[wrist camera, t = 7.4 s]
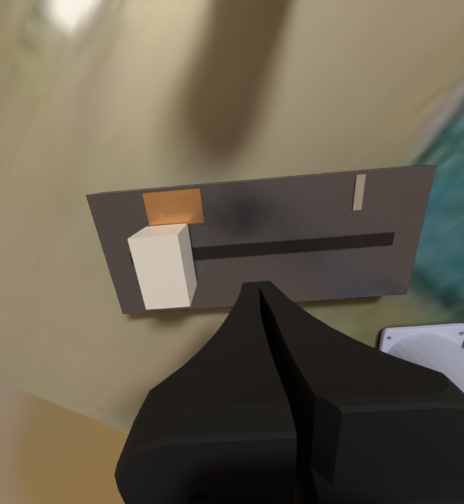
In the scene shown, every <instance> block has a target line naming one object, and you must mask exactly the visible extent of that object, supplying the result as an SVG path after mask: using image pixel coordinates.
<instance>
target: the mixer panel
mask: <svg viewBox="0 0 464 504" xmlns="http://www.w3.org/2000/svg"><path fill="white" fill-rule="evenodd" d="M435 170H436V165H419V166H403V167H392V168H380V169H369V170H357V171H345V172H334V173H322V174H311V175H299V176H287V177H276V178H264V179H253V180H241V181H230V182H218V183H206V184H195V185H183V186H172V187H160V188H148V189H137V190H125V191H114V192H102V193H96V194H90V195H86V197H87V200H88V203H89V207H90V210H91V213H92V216H93V219H94V223H95V226H96V229H97V232H98V236H99V239H100V242H101V245H102V248H103V252H104V255H105V258H106V261H107V264H108V268H109V271H110V274H111V277H112V281H113V284H114V287H115V290H116V293H117V297H118V300H119V303H120V306H121V309H122V313H123V314H131V313H145V312H159V311H174V310H188V309H202V308H216V307H230V306H234V304H235V302H236V300H237V298H238V296H239V293H240V290H241V286H242V284H243V283H244V282H257V281H271V282H272V283H273V284H274V285H275V286H276V287H277V288H278V289H279V290H280V291H282V292H283V293H284V294H285V295H286V296H287V297H288V298H289V299H291V300H292V301H293V302H302V301H316V300H330V299H344V298H358V297H373V296H387V295H401V294H407V290H408V285H409V281H410V277H411V273H412V268H413V264H414V260H415V255H416V251H417V247H418V243H419V238H420V234H421V230H422V225H423V221H424V217H425V213H426V208H427V204H428V200H429V195H430V191H431V187H432V183H433V178H434V174H435ZM184 223H187V224H188V231H189V237H190V243H191V250H192V256H193V263H194V269H195V275H196V282H197V286H196V289H195V293H194V296H193V299H192V302H191V306H190V307H177V308H162V309H148V310H146V308H145V304H144V300H143V296H142V292H141V289H140V285H139V281H138V277H137V273H136V270H135V266H134V262H133V258H132V254H131V251H130V247H129V243H128V238H129V237H131V236H132V235H134V234H136V233H137V232H139V231H140V230H142V229H143V228H145V227H147V226H160V225H172V224H184Z"/></svg>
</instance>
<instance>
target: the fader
mask: <svg viewBox="0 0 464 504" xmlns="http://www.w3.org/2000/svg"><path fill="white" fill-rule="evenodd" d="M128 243H129V247H130V251H131V254H132V258H133V262H134V266H135V270H136V273H137V277H138V281H139V285H140V289H141V292H142V296H143V300H144V304H145V308H146V310H148V309H162V308H177V307H190V306H191V302H192V299H193V296H194V293H195V289H196V286H197V282H196V275H195V269H194V263H193V256H192V250H191V243H190V237H189V231H188V224H187V223H184V224H172V225H160V226H147V227H145V228H143V229H142V230H140V231H139V232H137V233H136V234H134V235H132V236H131V237H129V238H128Z"/></svg>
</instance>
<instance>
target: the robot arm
mask: <svg viewBox="0 0 464 504" xmlns="http://www.w3.org/2000/svg"><path fill="white" fill-rule="evenodd" d="M463 340H464V324H463V323H456V324H441V325H426V326H411V327H396V328H386V329H384V330H383V331H382V335H381V340H380V345H379V350H378V349H375V348H373V347H370V346H368V345H366V344H364V343H361V342H359V341H357V340H355V339H353V338H351V337H349V336H347V335H345V334H343V333H341V332H339V331H337V330H335V329H333V328H331V327H330V326H328V325H326V324H325V323H323V322H321V321H320V320H318V319H316V318H315V317H313V316H312V315H310V314H309V313H307V312H306V311H305V310H303V309H302V308H301V307H299V306H298V305H297V304H295V303H294V302H293V301H292V300H291V299H289V298H288V297H287V296H286V295H285V294H284V293H283V292H282V291H280V290H279V289H278V288H277V287H276V286H275V285H274V284H273V283H272V282H271V281H257V282H244V283H243V284H242V286H241V290H240V293H239V296H238V298H237V300H236V302H235V304H234V306H233V308H232V310H231V311H230V313H229V315H228V317H227V318H226V320H225V321H224V323H223V324H222V325H221V327H220V328H219V329H218V331H217V332H216V333H215V334H214V336H213V337H212V338H211V339H210V340H209V341H208V342H207V344H206V345H205V346H204V347H203V348H202V349H201V350H200V351H199V352H198V353H197V354H196V355H195V356H193V357H192V358H191V359H190V360H189V361H188V362H187V363H186V364H185V365H183V366H182V367H181V368H180V369H178V370H177V371H176V372H175V373H173V374H172V375H170V376H169V377H168V378H166V379H165V380H164V381H162V382H161V383H160V384H158V385H157V386H156V387H154V388H153V389H151V390H150V391H149V393H148V395H147V397H146V399H145V401H144V403H143V405H142V407H141V408H140V410H139V412H138V414H137V416H136V418H135V420H134V423H133V425H132V428H131V430H130V433H129V435H128V438H127V440H126V443H125V445H124V448H123V451H122V453H121V455H120V458H119V461H118V463H117V467H116V471H115V479H116V483H117V487H118V490H119V492H120V494H121V496H122V498H123V500H124V502H125V504H464V349H463V348H462V347H461V345H462V343H463Z"/></svg>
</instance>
